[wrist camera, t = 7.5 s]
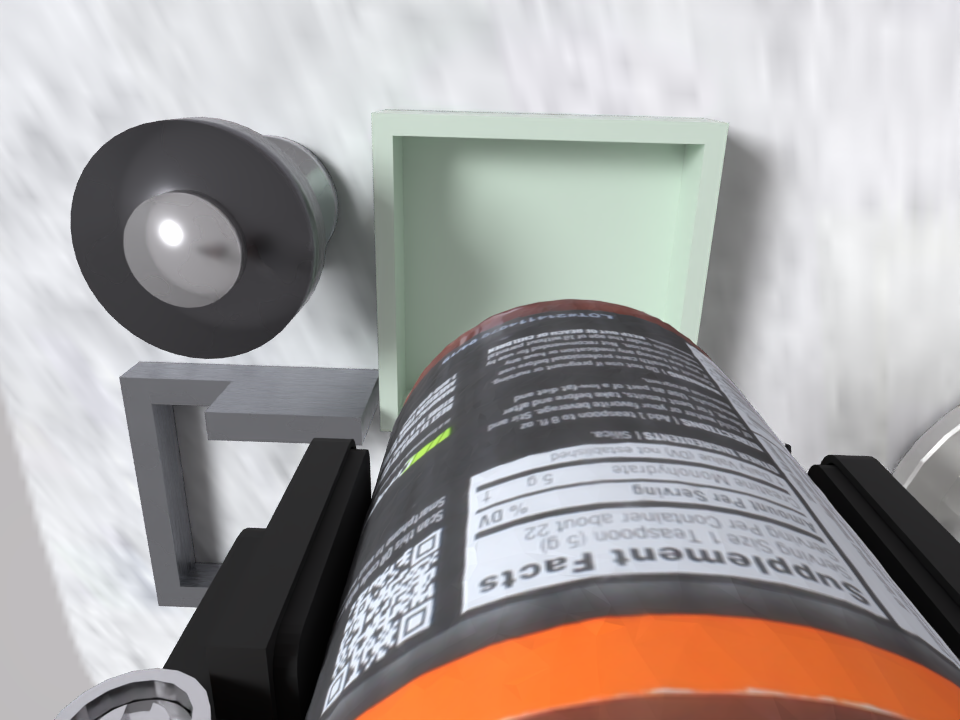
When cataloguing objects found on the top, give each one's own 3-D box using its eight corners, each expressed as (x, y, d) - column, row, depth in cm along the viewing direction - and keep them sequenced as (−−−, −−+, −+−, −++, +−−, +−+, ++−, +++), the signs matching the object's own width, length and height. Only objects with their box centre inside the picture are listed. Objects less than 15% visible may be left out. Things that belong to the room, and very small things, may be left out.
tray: (703, 118, 23) (729, 122, 20) (664, 406, 27) (682, 442, 24) (385, 109, 23) (371, 113, 20) (392, 397, 27) (380, 431, 24)
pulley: (358, 112, 23) (296, 125, 16) (364, 291, 25) (312, 370, 18) (174, 106, 23) (33, 117, 16) (196, 285, 25) (80, 363, 18)
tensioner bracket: (380, 369, 26) (361, 417, 23) (386, 589, 30) (370, 661, 26) (139, 361, 26) (80, 407, 23) (174, 581, 30) (128, 652, 26)
